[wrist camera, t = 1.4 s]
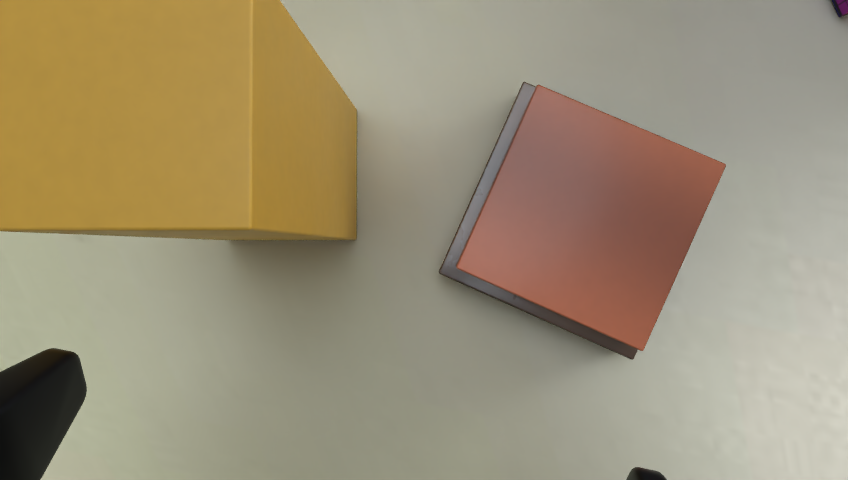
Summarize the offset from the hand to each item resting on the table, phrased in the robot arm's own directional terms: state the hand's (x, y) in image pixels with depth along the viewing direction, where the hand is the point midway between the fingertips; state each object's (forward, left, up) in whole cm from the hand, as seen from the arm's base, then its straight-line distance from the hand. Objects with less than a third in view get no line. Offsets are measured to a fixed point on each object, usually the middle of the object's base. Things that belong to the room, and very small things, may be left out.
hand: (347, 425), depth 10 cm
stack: (+7, +1, -15) cm, 17 cm away
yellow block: (-3, +7, -15) cm, 17 cm away
